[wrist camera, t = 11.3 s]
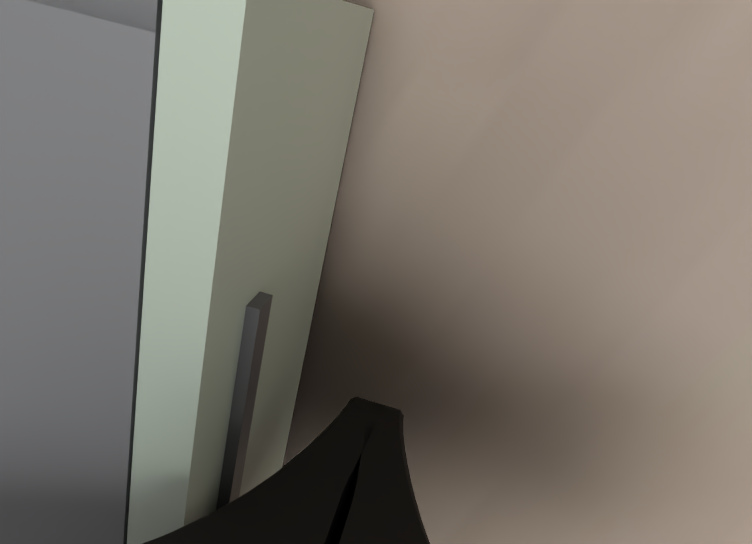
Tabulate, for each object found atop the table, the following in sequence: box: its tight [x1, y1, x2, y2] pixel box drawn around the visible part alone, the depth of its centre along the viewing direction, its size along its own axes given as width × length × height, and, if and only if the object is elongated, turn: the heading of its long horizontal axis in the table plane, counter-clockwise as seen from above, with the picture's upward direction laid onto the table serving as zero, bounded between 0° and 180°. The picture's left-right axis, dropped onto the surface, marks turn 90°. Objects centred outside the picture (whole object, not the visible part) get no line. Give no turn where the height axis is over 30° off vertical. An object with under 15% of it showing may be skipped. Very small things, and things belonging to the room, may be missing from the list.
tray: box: [127, 0, 374, 544], centre depth 11 cm, size 16×11×6 cm
